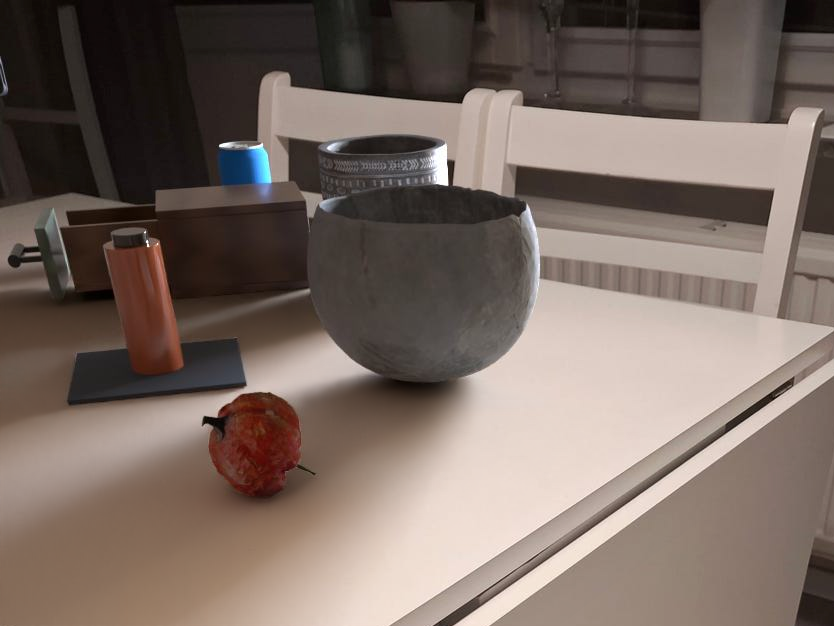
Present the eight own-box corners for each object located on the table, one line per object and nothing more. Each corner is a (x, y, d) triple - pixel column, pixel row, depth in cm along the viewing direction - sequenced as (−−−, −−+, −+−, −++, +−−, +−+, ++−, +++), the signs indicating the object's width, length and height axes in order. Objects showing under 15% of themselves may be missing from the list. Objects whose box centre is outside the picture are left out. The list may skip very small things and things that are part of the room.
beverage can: (275, 237, 141) (261, 139, 134) (282, 247, 136) (269, 146, 129) (228, 241, 140) (212, 142, 132) (235, 251, 135) (218, 150, 127)
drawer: (15, 302, 114) (-6, 231, 109) (25, 277, 123) (6, 210, 118) (191, 287, 118) (178, 218, 113) (189, 263, 126) (177, 198, 122)
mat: (68, 405, 91) (66, 400, 90) (77, 356, 101) (76, 352, 101) (247, 386, 93) (246, 381, 93) (237, 341, 104) (237, 337, 104)
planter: (354, 311, 112) (339, 159, 103) (317, 281, 122) (301, 140, 113) (470, 294, 116) (467, 147, 107) (425, 266, 126) (418, 130, 117)
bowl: (495, 425, 85) (493, 231, 75) (281, 399, 90) (255, 216, 81) (564, 350, 100) (569, 181, 90) (377, 332, 105) (364, 171, 96)
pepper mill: (131, 377, 95) (98, 239, 87) (132, 360, 99) (101, 227, 91) (185, 372, 96) (157, 235, 88) (183, 355, 100) (157, 223, 92)
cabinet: (172, 299, 117) (155, 211, 112) (171, 272, 127) (155, 190, 121) (316, 286, 120) (306, 200, 115) (304, 261, 130) (294, 180, 124)
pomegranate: (282, 488, 81) (167, 434, 75) (330, 412, 78) (215, 349, 72) (304, 536, 76) (184, 483, 70) (356, 457, 73) (236, 394, 67)
